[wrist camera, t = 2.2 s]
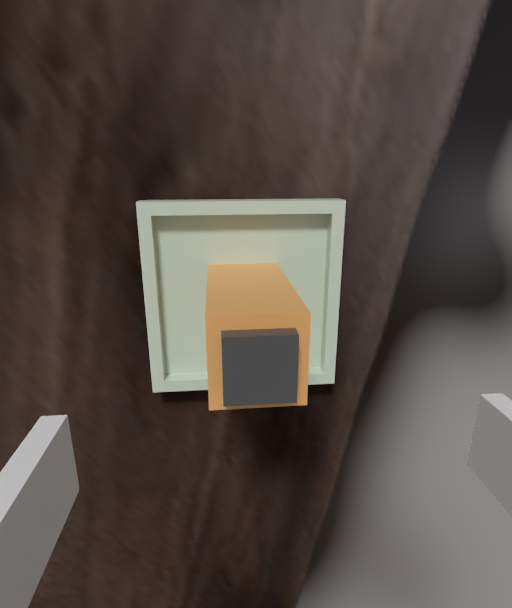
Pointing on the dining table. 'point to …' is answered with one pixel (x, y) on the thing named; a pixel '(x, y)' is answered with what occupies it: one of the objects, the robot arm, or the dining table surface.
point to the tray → (234, 250)
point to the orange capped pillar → (255, 338)
